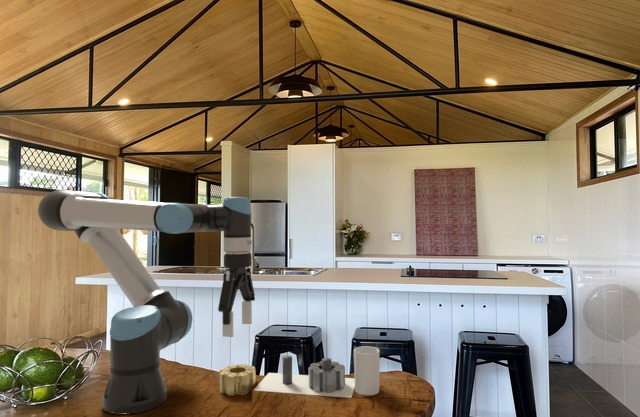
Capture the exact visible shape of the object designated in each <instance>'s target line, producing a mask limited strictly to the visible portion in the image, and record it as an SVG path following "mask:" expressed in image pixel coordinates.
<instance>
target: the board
mask: <svg viewBox="0 0 640 417" xmlns="http://www.w3.org/2000/svg"><path fill="white" fill-rule="evenodd" d="M321 361H322V370H331V362H332V359H331V358H330V357H324V358H322V359H321ZM253 391H256V392H259V391H260V392H271V393H282V394H283V393H284V394H295V395H308V396H309V395H310V396H321V397H323V396H324V397H334V398H335V397H337V398H348V399H351V398H352V397H353V393H354V391H355V377H354V378H351V377H345V385H344V389H342V390H341V391H340V390H337V391H334V393H327V392H322V391H321V392H320V393H319V392H316V391H314V389H313V388H309V382H308V374H293V356H292V355H284V356H282V373H277V372H268V373H267V374H266V375H265V376H264V378H262V379H261V381H260V382H259V383H258V384H257V386H256V387H255V388H254V389H253Z"/></svg>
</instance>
